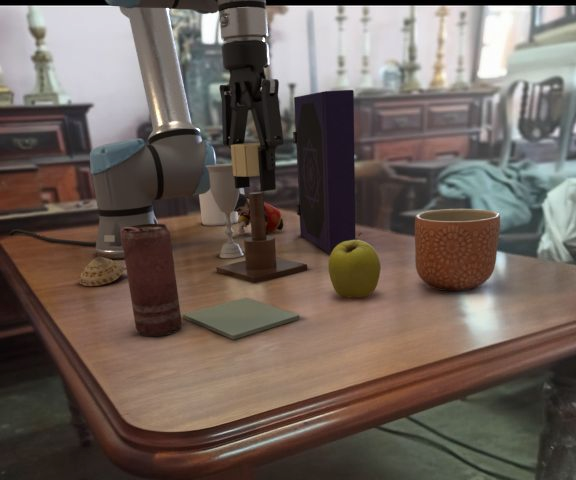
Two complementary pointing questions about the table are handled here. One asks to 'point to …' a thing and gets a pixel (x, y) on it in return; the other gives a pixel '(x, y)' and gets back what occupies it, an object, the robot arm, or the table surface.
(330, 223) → the book
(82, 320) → the table surface
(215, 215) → the mug
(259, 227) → the stand
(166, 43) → the robot arm
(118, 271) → the seashell
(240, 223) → the figurine
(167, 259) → the can
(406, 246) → the table surface
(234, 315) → the mat
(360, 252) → the apple
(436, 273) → the planter
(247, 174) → the tape roll
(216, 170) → the chalice
